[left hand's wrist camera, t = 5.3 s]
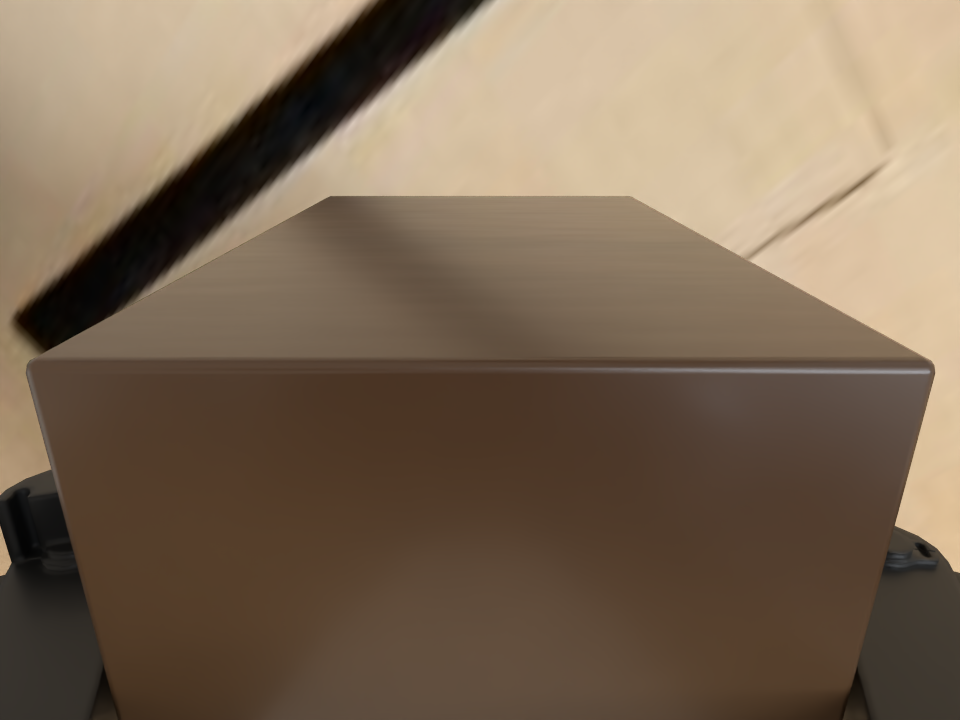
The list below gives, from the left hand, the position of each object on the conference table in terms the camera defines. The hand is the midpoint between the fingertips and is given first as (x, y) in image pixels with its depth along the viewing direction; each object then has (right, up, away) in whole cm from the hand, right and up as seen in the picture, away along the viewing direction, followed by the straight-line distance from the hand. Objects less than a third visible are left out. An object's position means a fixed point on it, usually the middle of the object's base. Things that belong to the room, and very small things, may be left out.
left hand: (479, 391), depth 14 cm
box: (0, -9, +4) cm, 10 cm away
